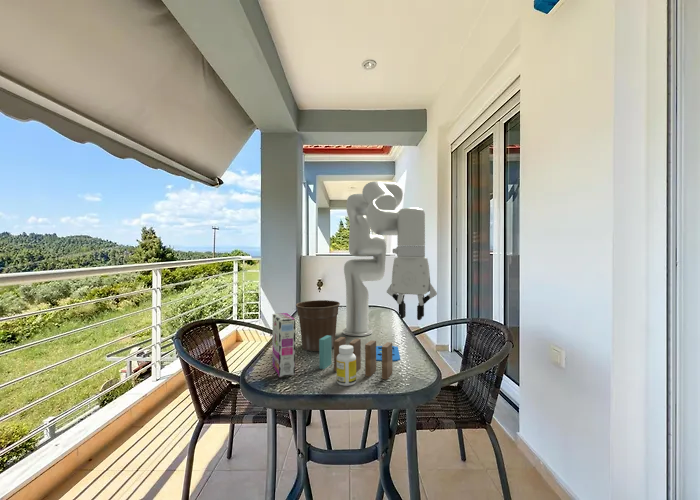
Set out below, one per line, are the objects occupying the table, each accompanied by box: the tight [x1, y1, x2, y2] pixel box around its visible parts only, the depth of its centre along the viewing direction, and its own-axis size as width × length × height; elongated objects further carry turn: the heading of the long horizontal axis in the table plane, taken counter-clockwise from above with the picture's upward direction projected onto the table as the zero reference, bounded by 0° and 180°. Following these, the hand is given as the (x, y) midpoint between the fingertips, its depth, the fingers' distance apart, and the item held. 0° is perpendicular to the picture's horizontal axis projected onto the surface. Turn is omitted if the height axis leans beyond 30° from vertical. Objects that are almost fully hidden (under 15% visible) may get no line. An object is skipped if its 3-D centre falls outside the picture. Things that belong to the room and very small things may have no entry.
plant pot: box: [295, 299, 341, 352], centre depth 125 cm, size 16×16×16 cm
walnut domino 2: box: [348, 338, 362, 373], centre depth 101 cm, size 2×5×9 cm, turn 156°
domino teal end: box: [318, 335, 333, 370], centre depth 105 cm, size 2×5×9 cm, turn 156°
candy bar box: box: [271, 312, 296, 378], centre depth 102 cm, size 11×5×16 cm, turn 23°
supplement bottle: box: [336, 344, 357, 387], centre depth 93 cm, size 5×5×10 cm
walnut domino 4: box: [381, 341, 393, 380], centre depth 97 cm, size 2×5×9 cm, turn 156°
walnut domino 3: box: [364, 340, 377, 377], centre depth 99 cm, size 2×5×9 cm, turn 156°
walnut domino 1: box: [333, 336, 347, 372], centre depth 103 cm, size 2×5×9 cm, turn 157°
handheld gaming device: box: [376, 345, 401, 362], centre depth 117 cm, size 8×1×15 cm
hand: (411, 317), depth 94 cm, fingers open, 4 cm apart
